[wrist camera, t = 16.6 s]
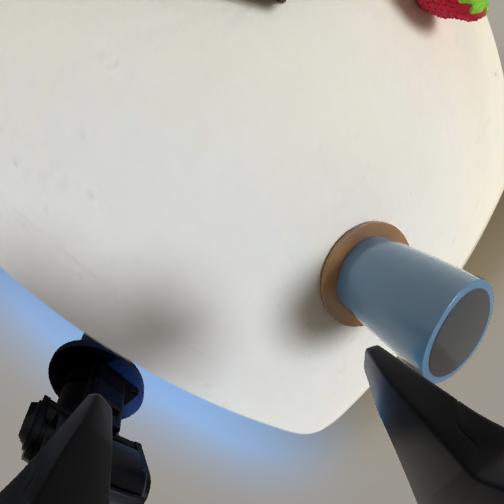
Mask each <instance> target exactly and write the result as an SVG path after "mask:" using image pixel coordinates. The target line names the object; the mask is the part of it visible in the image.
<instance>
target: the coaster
mask: <svg viewBox="0 0 504 504" xmlns="http://www.w3.org/2000/svg"><path fill="white" fill-rule="evenodd" d="M373 236H385V237H388V238H391V239H393V240H396V241H398V242H401V243H403V244H405V245H408V246H409V244H408V242H407V240H406V238H405V236H404V235H403V234H402V233H401V231H400V230H398V229H397V228H396V227H394V226H393V225H391V224H388V223H385V222H380V221H371V222H366V223H363V224H360V225H358V226H356V227H354V228H353V229H351V230H350V231H348V232H347V233H346V234H345V235H344V236H342V238H341V239H340V240H339V241H338V242H337V243H336V245H335V246H334V247H333V249H332V250H331V252H330V254H329V256H328V258H327V260H326V262H325V265H324V268H323V272H322V277H321V295H322V300H323V303H324V305H325V307H326V309H327V311H328V312H329V314H330V315H331V316H332V317H333V318H334V319H335V320H337V321H338V322H340V323H342V324H344V325H348V326H355V327H356V326H364V325H363V324H362V323H361V322H360V321H358V320H357V319H356V318H355V317H354V316H353V315H352V314H350V313H349V312H348V311H347V310H346V309H345V308H344V307H343V306H342V304H341V303H340V300H339V298H338V294H337V278H338V274H339V271H340V268H341V265H342V263H343V261H344V260H345V258H346V256H347V255H348V253H349V252H350V251H351V250H352V249H353V248H354V247H355V246H356V245H357V244H358V243H360V242H361V241H363V240H365V239H367V238H369V237H373Z"/></svg>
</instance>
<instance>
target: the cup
mask: <svg viewBox="0 0 504 504" xmlns="http://www.w3.org/2000/svg"><path fill="white" fill-rule="evenodd" d="M337 294H338V298H339V300H340V303H341V304H342V306H343V307H344V308H345V309H346V310H347V311H348V312H349V313H350V314H352V315H353V316H354V317H355V318H356V319H357V320H358V321H360V322H361V323H362V324H363V325H364V326H365V327H366V328H367V329H369V330H370V331H371V332H372V333H373V334H374V335H375V336H376V337H378V338H379V339H380V340H381V341H382V342H383V343H384V344H385V345H387V346H388V347H389V348H390V349H391V350H392V351H393V352H394V353H396V354H397V355H398V356H399V357H400V358H401V359H402V360H403V361H404V362H406V363H407V364H408V365H409V366H410V367H411V368H412V369H413V370H415V371H416V372H418V373H419V374H421V375H422V376H423V377H425V378H426V379H428V380H429V381H431V382H432V383H439V382H441V381H444V380H446V379H448V378H449V377H451V376H452V375H454V374H455V373H456V372H457V371H458V370H459V369H461V368H462V367H463V365H464V364H465V363H466V362H467V361H468V360H469V359H470V357H471V356H472V355H473V353H474V352H475V350H476V349H477V347H478V346H479V344H480V342H481V340H482V338H483V336H484V334H485V332H486V330H487V327H488V325H489V321H490V319H491V315H492V310H493V301H494V300H493V299H494V296H493V290H492V287H491V285H490V284H489V282H488V281H486V280H485V279H482V278H480V277H478V276H476V275H474V274H472V273H470V272H467V271H465V270H463V269H461V268H459V267H456V266H454V265H452V264H450V263H448V262H445V261H443V260H441V259H438V258H436V257H434V256H432V255H429V254H427V253H425V252H422V251H420V250H417V249H415V248H413V247H410V246H408V245H405V244H403V243H401V242H398V241H396V240H393V239H391V238H388V237H385V236H373V237H369V238H367V239H365V240H363V241H361V242H360V243H358V244H357V245H356V246H355V247H354V248H353V249H352V250H351V251H350V252H349V253H348V255H347V256H346V258H345V260H344V261H343V263H342V265H341V268H340V271H339V274H338V278H337Z"/></svg>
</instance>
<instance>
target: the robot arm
mask: <svg viewBox="0 0 504 504" xmlns="http://www.w3.org/2000/svg"><path fill="white" fill-rule="evenodd" d="M84 355H86V356H87V357H85V356H84ZM364 369H365V373H366V376H367V379H368V382H369V385H370V388H371V391H372V394H373V397H374V400H375V404H376V407H377V410H378V412H379V414H380V417H381V419H382V421H383V423H384V426H385V428H386V430H387V432H388V434H389V437H390V439H391V441H392V444H393V446H394V448H395V450H396V453H397V455H398V457H399V460H400V462H401V464H402V467H403V469H404V471H405V474H406V476H407V479H408V481H409V483H410V486H411V488H412V491H413V493H414V496H415V498H416V501H417V503H418V504H504V427H502V426H500V425H498V424H496V423H494V422H492V421H490V420H489V419H487V418H485V417H483V416H481V415H480V414H478V413H476V412H475V411H473V410H472V409H470V408H468V407H467V406H466V405H464V404H463V403H461V402H460V401H457V399H455V398H454V397H452V396H451V395H449V394H448V393H447V392H445V391H443V390H442V389H441V388H439V387H438V386H436V385H435V384H434V383H432V382H431V381H429V380H428V379H426V378H425V377H423V376H422V375H421V374H419V373H418V372H416V371H415V370H413V369H412V368H410V367H409V366H408V365H406V364H404V363H403V362H402V361H400V360H399V359H397V358H396V357H395V356H393V355H392V354H390V353H389V352H387V351H386V350H384V349H383V348H382V347H380V346H377V345H376V346H373V347H370V348H367V349H366V351H365V361H364ZM57 385H58V386H57ZM53 387H54V388H55V389H56V390H57V391H58V392H60V396H59V399H58V402H57V403H56V402H54V401H52V400H51V398H50V397H48V396H46V395H45V396H44V398H43V400H42V401H41V400H40V401H39V402H31V404H30V407H29V409H28V412H27V414H26V417H25V419H24V422H23V424H22V427H21V430H20V432H19V435H18V436H19V438H20V441H21V443H22V450H23V454H22V460H24V461H26V462H27V463H28V465H27V466H26V467H25V468H24V469H23V470H22V471H21V472H20V473H19V474H18V475H17V476H16V477H15V478H14V479H13V480H12V481H11V482H10V483H9V484H8V485H7V486H6V487H5V488H4V489H3V490H2V491H1V492H0V504H144V502H145V501H146V499H147V496H148V494H149V490H150V484H151V478H150V473H149V469H148V466H147V463H146V460H145V456H144V453H143V450H142V446H141V444H140V443H138V442H133V441H130V440H128V439H126V438H123V437H121V436H119V431H120V423H121V415H122V411H123V407H124V406H125V405H126V404H128V403H129V402H130V401H131V400H133V399H134V398H135V397H136V396H137V395H138V393H139V389H138V388H137V387H136V386H134V385H133V384H131V383H130V382H129V381H127V380H126V379H125V378H123V377H122V376H120V375H119V374H118V373H116V372H115V371H113V370H112V369H111V368H109V367H108V366H107V365H105V364H104V363H103V362H101V361H100V360H99V359H97V358H96V357H95V356H94V355H92V354H91V353H90V352H89V351H87V350H82V351H81V352H80V353H79V354H78V355H77V356H76V358H75V359H74V360H73V361H72V362H71V363H70V364H69V365H68V366H67V367H66V369H65V370H64V371H63V372H62V373H61V374H60V375H59V376H58V377H57V379H56V380H55V381H54V383H53ZM133 391H135V392H133Z"/></svg>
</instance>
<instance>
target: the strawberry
mask: <svg viewBox="0 0 504 504" xmlns="http://www.w3.org/2000/svg"><path fill="white" fill-rule="evenodd" d="M416 1H417V2H418V4H419V5H420V7H421V8H423V9H424V10H426V11H427V12H429V13H431V14H432V15H436V16H437V17H440V18H444V19H447V18H449V19H450V18H452V19H453V18H455V19H460V20H461V21H462V20H464V21H467V22H469V21H470V22H471V21H477V20H478V19H481V18H482V17H484V16H486V14H487V12H488V8H489V5H488V0H416Z"/></svg>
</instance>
